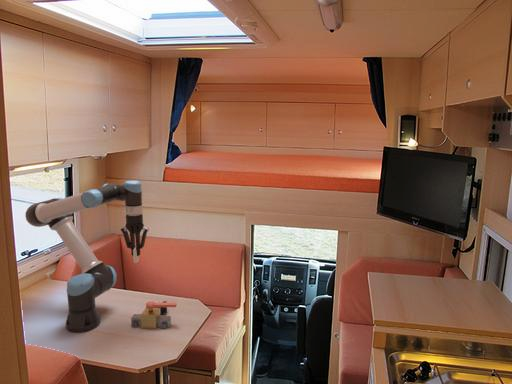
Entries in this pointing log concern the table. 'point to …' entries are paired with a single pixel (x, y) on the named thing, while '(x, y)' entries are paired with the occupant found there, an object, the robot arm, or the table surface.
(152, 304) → the lever
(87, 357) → the table surface
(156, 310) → the valve
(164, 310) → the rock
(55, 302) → the table surface
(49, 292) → the table surface
